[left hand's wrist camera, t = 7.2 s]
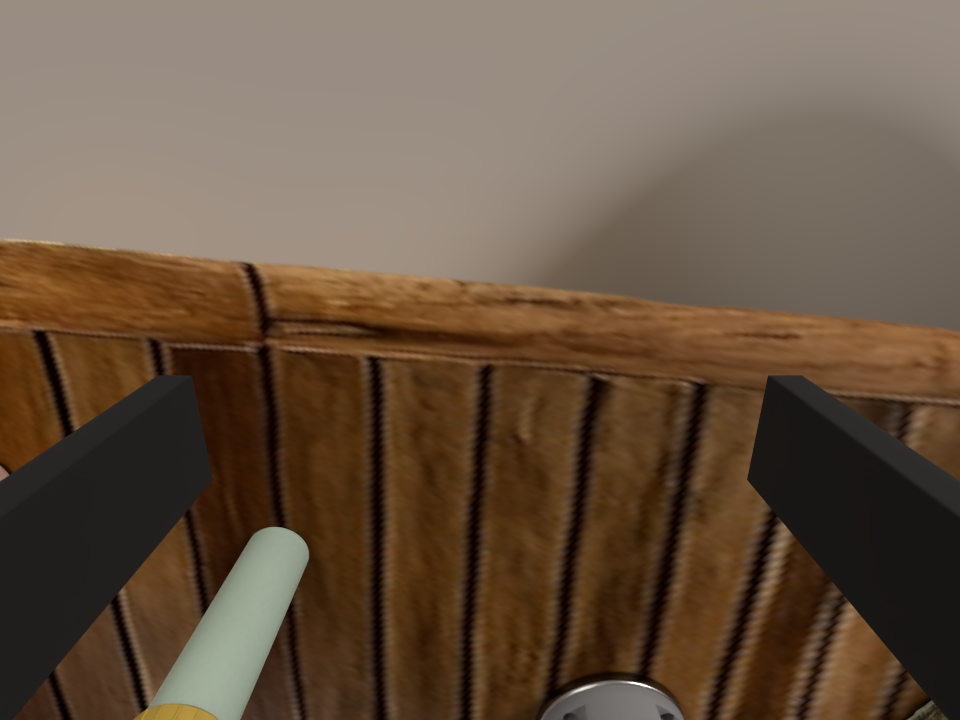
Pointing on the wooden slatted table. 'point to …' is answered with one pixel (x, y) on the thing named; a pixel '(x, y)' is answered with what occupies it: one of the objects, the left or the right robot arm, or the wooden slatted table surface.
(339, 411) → the wooden slatted table surface
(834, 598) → the wooden slatted table surface
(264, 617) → the pale green bottle
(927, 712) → the fossil
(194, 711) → the lid
